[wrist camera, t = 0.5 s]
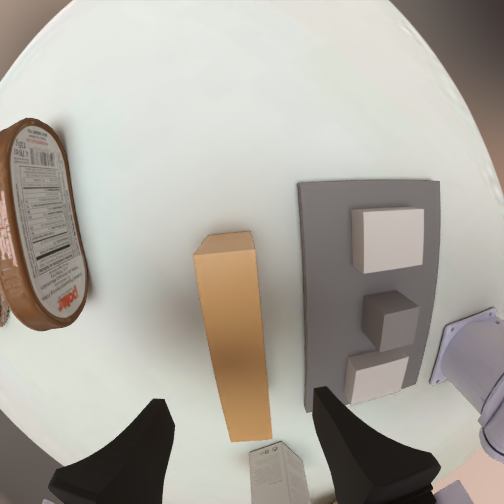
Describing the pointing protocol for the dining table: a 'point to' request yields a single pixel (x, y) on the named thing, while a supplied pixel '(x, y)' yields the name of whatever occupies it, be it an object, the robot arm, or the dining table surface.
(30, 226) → the tin
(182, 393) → the dining table surface
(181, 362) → the dining table surface
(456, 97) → the dining table surface
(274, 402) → the dining table surface
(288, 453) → the skincare box
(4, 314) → the caramel apple
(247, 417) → the frame
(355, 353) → the stand
